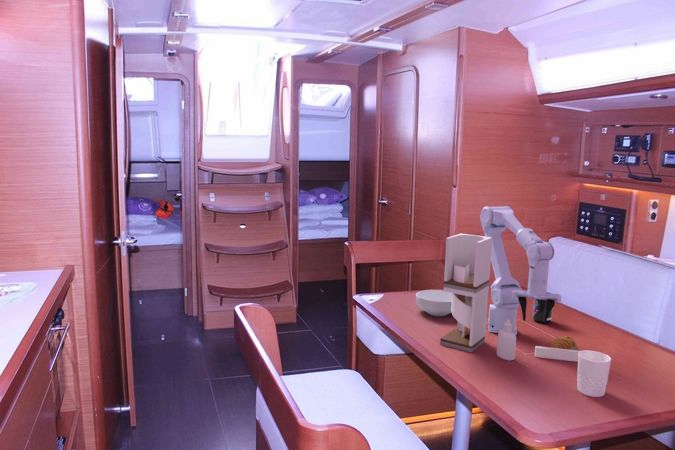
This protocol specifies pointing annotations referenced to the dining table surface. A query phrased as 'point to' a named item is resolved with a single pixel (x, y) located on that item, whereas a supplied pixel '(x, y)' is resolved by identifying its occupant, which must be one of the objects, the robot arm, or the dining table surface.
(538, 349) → the white rectangular bar
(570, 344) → the pastry
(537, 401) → the dining table surface
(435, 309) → the cereal bowl
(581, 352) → the white cup
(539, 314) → the supplement container
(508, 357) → the eye dropper bottle
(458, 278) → the display case
